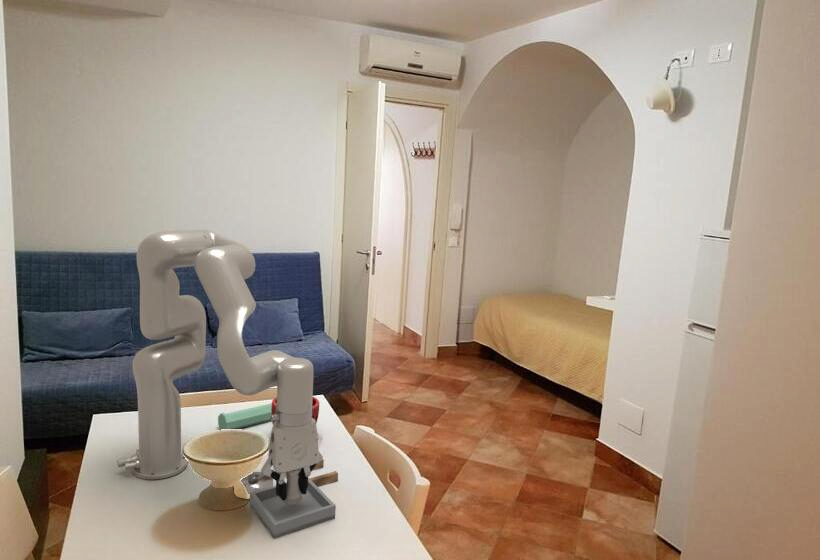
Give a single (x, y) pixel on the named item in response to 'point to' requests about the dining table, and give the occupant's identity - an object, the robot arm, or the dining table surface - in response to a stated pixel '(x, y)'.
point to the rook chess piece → (292, 488)
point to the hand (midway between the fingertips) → (291, 493)
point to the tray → (291, 510)
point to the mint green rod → (245, 417)
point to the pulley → (257, 482)
